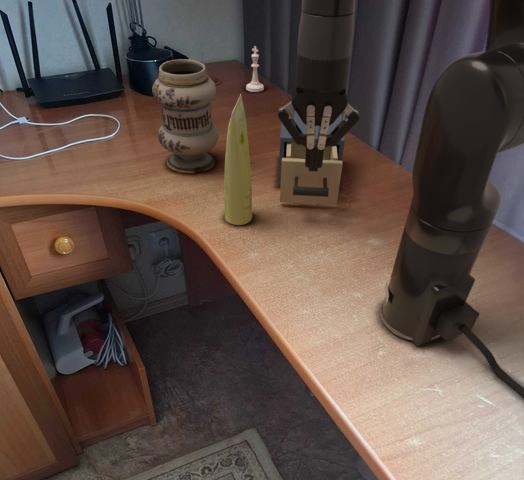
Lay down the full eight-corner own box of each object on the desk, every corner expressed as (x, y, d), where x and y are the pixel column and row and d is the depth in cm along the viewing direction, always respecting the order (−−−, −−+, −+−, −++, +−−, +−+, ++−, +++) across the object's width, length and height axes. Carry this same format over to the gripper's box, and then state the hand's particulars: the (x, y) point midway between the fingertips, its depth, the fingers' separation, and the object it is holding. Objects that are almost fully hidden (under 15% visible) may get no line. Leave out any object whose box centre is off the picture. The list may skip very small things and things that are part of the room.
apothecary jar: (177, 182, 92) (165, 81, 79) (152, 158, 99) (137, 61, 86) (230, 167, 97) (227, 70, 84) (203, 145, 104) (196, 52, 90)
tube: (259, 222, 83) (261, 105, 69) (235, 230, 81) (231, 112, 67) (242, 207, 86) (241, 93, 72) (218, 215, 84) (212, 99, 70)
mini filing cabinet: (337, 190, 91) (344, 140, 84) (278, 187, 92) (280, 137, 84) (335, 160, 100) (341, 113, 93) (280, 157, 100) (282, 110, 93)
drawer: (337, 220, 82) (344, 178, 76) (278, 217, 82) (280, 175, 77) (334, 175, 93) (339, 135, 88) (282, 172, 94) (284, 132, 88)
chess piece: (257, 93, 126) (257, 50, 118) (242, 89, 127) (241, 47, 120) (267, 88, 129) (268, 45, 121) (252, 84, 130) (252, 42, 123)
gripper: (275, 56, 63) (272, 178, 76) (374, 59, 63) (354, 181, 75) (278, 41, 69) (274, 157, 81) (369, 43, 68) (351, 160, 81)
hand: (313, 169), depth 78 cm, fingers closed
